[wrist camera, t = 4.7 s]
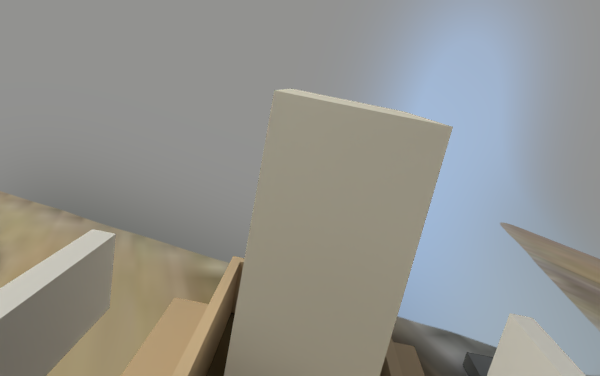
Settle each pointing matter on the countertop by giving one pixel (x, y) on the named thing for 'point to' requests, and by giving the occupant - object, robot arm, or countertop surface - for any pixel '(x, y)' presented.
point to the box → (332, 235)
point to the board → (477, 364)
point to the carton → (208, 331)
